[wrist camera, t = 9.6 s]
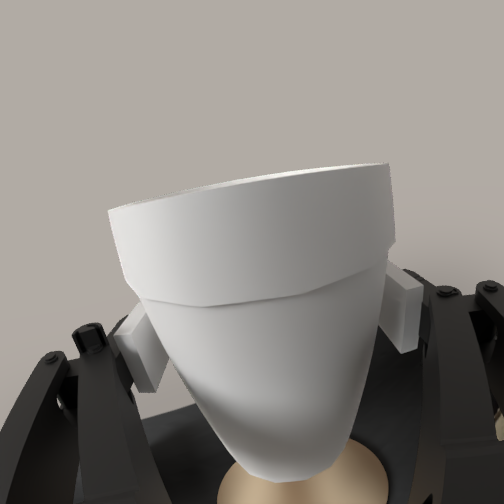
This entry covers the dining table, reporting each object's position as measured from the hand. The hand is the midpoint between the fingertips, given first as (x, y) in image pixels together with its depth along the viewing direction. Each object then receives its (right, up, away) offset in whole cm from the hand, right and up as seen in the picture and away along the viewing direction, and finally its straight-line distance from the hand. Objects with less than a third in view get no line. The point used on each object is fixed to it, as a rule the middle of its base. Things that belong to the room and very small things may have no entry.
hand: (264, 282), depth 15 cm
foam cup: (+1, -8, -2) cm, 9 cm away
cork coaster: (+3, -17, 0) cm, 17 cm away
